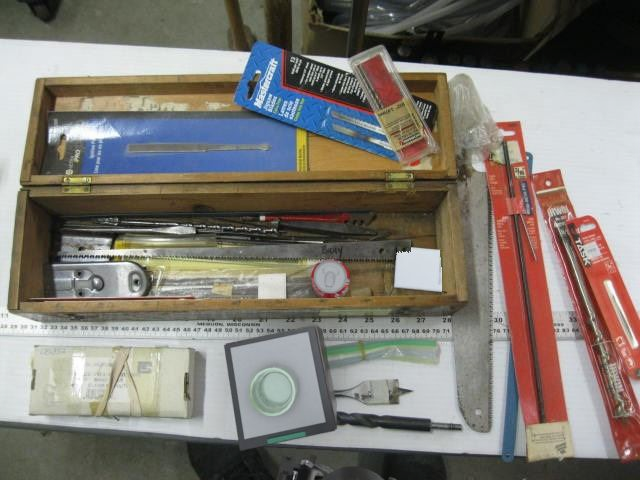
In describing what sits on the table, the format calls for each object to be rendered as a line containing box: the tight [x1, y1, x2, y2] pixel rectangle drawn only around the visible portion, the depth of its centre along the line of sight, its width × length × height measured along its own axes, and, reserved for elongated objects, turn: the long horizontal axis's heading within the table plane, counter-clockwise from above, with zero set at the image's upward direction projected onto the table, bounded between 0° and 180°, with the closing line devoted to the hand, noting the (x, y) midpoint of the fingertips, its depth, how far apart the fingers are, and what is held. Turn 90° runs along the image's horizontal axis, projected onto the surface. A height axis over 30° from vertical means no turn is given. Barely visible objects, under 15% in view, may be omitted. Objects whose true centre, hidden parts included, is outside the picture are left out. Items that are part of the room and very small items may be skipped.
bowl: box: [249, 365, 299, 417], centre depth 57 cm, size 6×6×5 cm
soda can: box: [310, 258, 351, 299], centre depth 84 cm, size 7×7×12 cm
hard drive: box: [393, 246, 443, 293], centre depth 89 cm, size 2×8×12 cm
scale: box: [223, 325, 336, 452], centre depth 61 cm, size 14×13×3 cm
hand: (350, 476), depth 48 cm, fingers open, 8 cm apart
